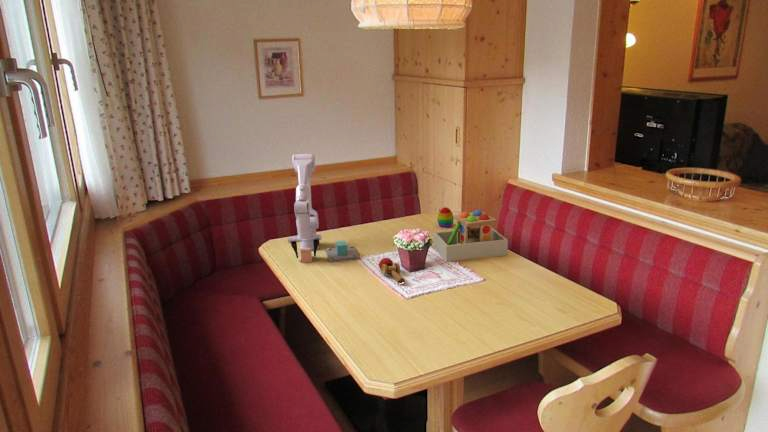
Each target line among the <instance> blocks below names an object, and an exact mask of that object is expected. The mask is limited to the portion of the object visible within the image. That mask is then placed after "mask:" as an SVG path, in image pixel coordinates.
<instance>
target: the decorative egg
mask: <svg viewBox="0 0 768 432" xmlns="http://www.w3.org/2000/svg"><path fill="white" fill-rule="evenodd" d="M454 220H455V219H454V214H453V212H452V211H451V209H450V208H449V207H442V208H441V209H440V210H439V212H438V213H437V224H438V225H439V227H440V228H444V229H448V228H451V226H453V223H454Z"/></svg>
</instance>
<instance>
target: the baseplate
mask: <svg viewBox="0 0 768 432" xmlns="http://www.w3.org/2000/svg"><path fill="white" fill-rule="evenodd" d="M325 253H326V256H327V258H328V259H327V260H328V262H329V263H334V262H335V263H336V262H345V261H353V260H359V259H360V257H359V255H358V253H357V250H356V248H355V246H354V245H347V254H348V255H337V252H336V247H327V248H325Z"/></svg>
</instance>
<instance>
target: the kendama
mask: <svg viewBox="0 0 768 432" xmlns="http://www.w3.org/2000/svg"><path fill="white" fill-rule="evenodd" d="M378 268H379V270H380V271H381V274H382V275H383V276H386V275H387V274H389V273H391V275H392V277H393V278H394V280H395V282H398V283H397V284H398V285H399V283H402V282H404V283H406V280H405V278H404V277H402V276H401V274H400V273H401V266H400V263H398V262H393V260H392V259H391V258H389V257H384V258H382V259H380V261H379V264H378Z"/></svg>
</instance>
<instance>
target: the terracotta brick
mask: <svg viewBox="0 0 768 432" xmlns="http://www.w3.org/2000/svg"><path fill="white" fill-rule="evenodd" d="M299 250H300V260H301V263H302V264H303V263H312V262H313V258H312V257H313V256H312V250H311V249H310V248H302V249H301V248H300V249H299Z"/></svg>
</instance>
